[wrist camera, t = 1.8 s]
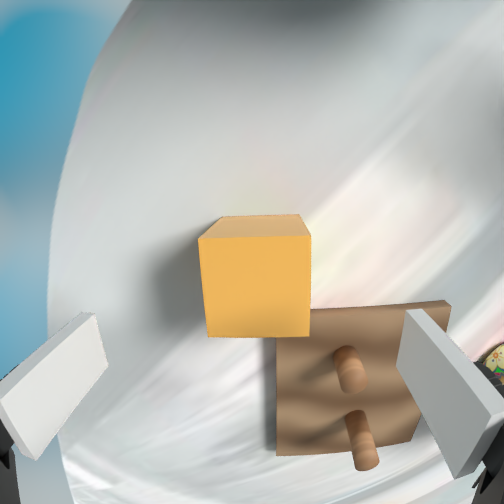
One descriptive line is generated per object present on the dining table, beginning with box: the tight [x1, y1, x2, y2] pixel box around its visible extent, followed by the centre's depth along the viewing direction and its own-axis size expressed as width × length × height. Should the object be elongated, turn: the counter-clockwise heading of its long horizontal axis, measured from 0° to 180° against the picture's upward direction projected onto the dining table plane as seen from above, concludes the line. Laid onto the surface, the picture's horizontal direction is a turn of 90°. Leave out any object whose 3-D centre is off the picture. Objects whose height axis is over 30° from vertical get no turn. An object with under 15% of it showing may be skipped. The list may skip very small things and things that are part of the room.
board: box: [276, 300, 451, 471], centre depth 24 cm, size 18×16×8 cm
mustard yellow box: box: [198, 214, 311, 338], centre depth 21 cm, size 6×6×8 cm
